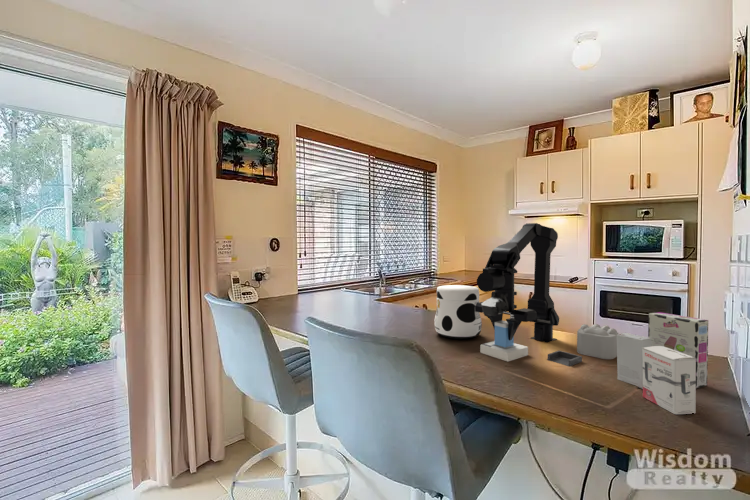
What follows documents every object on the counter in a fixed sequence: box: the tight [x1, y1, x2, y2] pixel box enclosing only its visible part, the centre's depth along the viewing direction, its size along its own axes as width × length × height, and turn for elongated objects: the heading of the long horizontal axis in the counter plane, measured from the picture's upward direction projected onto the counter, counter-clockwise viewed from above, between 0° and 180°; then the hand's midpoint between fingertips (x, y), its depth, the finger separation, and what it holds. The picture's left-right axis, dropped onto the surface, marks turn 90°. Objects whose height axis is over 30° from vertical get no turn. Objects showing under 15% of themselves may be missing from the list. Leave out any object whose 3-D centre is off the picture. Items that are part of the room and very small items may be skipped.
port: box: [479, 340, 529, 362], centre depth 112 cm, size 10×10×3 cm
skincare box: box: [616, 332, 651, 390], centre depth 89 cm, size 6×4×12 cm
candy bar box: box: [647, 311, 709, 389], centre depth 92 cm, size 11×5×16 cm, turn 22°
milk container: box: [433, 284, 483, 340], centre depth 134 cm, size 17×17×18 cm
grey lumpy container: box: [576, 323, 619, 360], centre depth 113 cm, size 10×13×9 cm
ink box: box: [642, 346, 697, 415], centre depth 78 cm, size 9×5×12 cm, turn 5°
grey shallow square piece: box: [546, 350, 583, 367], centre depth 105 cm, size 7×7×2 cm
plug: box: [494, 319, 515, 348], centre depth 111 cm, size 4×4×7 cm
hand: (504, 338), depth 112 cm, fingers closed on plug, 4 cm apart
